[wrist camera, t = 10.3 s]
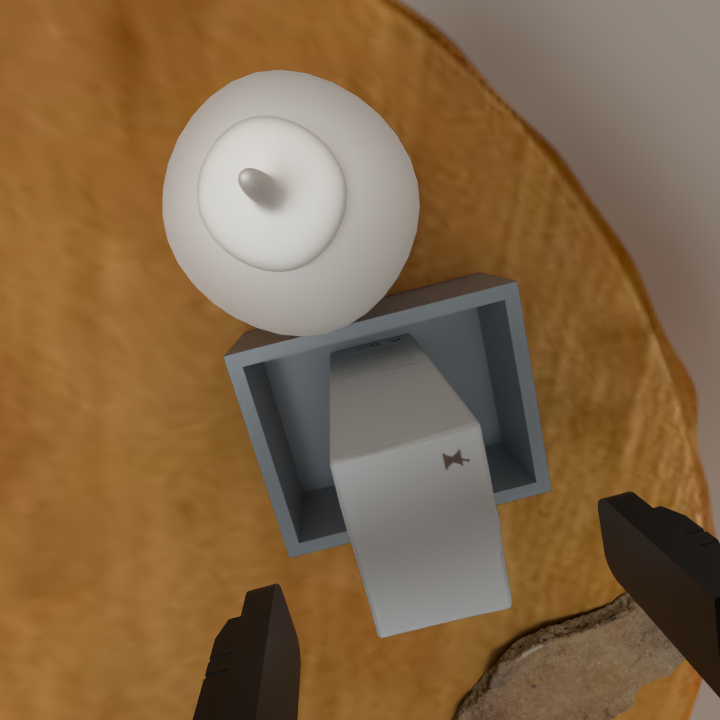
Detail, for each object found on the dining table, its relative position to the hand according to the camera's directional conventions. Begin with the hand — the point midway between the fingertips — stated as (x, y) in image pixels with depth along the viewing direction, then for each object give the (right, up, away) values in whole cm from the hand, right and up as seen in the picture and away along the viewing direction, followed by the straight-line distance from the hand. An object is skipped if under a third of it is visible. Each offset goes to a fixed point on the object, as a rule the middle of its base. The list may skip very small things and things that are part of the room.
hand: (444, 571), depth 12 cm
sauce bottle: (-5, +12, +11) cm, 17 cm away
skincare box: (-1, +3, +13) cm, 14 cm away
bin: (-1, +3, +14) cm, 14 cm away
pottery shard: (+10, -14, +19) cm, 26 cm away
